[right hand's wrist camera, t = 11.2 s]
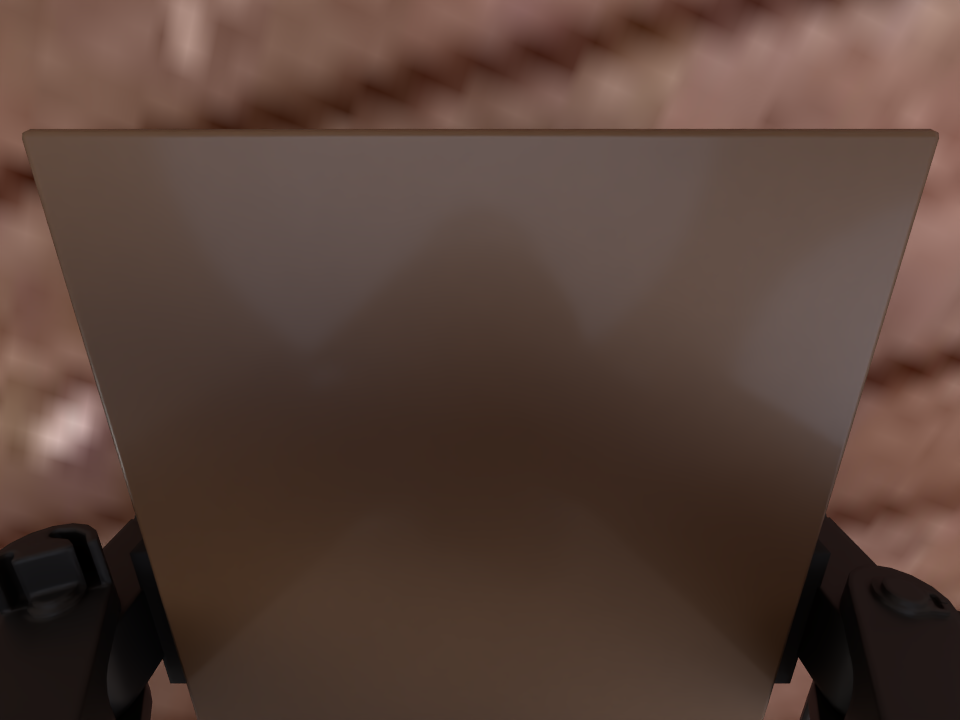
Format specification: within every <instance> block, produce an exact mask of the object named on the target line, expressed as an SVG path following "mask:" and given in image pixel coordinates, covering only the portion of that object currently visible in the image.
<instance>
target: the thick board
mask: <svg viewBox="0 0 960 720" xmlns="http://www.w3.org/2000/svg"><path fill="white" fill-rule="evenodd" d="M938 139H939V133H938V132H936V131H934V130H931V129H30V130H28V131H26V132H23V133H22V140H23V143H24V146H25V150H26V153H27V156H28V160H29V163H30V166H31V170H32V173H33V176H34V180H35V183H36V186H37V190H38V193H39V196H40V199H41V203H42V206H43V209H44V213H45V216H46V219H47V223H48V226H49V229H50V233H51V236H52V239H53V242H54V246H55V249H56V252H57V256H58V259H59V262H60V266H61V269H62V272H63V276H64V279H65V282H66V286H67V289H68V292H69V295H70V299H71V302H72V305H73V309H74V312H75V315H76V319H77V322H78V325H79V329H80V332H81V335H82V339H83V342H84V345H85V348H86V352H87V355H88V358H89V362H90V365H91V368H92V372H93V375H94V378H95V382H96V385H97V388H98V392H99V395H100V398H101V401H102V405H103V408H104V411H105V415H106V418H107V421H108V425H109V428H110V431H111V435H112V438H113V441H114V445H115V448H116V451H117V454H118V458H119V461H120V464H121V468H122V471H123V474H124V478H125V481H126V484H127V488H128V491H129V494H130V497H131V501H132V504H133V507H134V511H135V514H136V517H137V521H138V524H139V527H140V531H141V534H142V537H143V541H144V544H145V547H146V550H147V554H148V557H149V560H150V564H151V567H152V570H153V574H154V577H155V580H156V584H157V587H158V590H159V594H160V597H161V600H162V603H163V607H164V610H165V613H166V617H167V620H168V623H169V627H170V630H171V633H172V637H173V640H174V643H175V647H176V650H177V653H178V656H179V660H180V663H181V666H182V670H183V673H184V676H185V680H186V683H187V686H188V690H189V693H190V696H191V700H192V703H193V706H194V709H195V713H196V716H197V719H198V720H763V719H764V715H765V712H766V709H767V705H768V702H769V699H770V695H771V692H772V689H773V685H774V682H775V679H776V675H777V672H778V669H779V666H780V662H781V659H782V656H783V652H784V649H785V646H786V642H787V639H788V636H789V632H790V629H791V626H792V623H793V619H794V616H795V613H796V609H797V606H798V603H799V599H800V596H801V593H802V589H803V586H804V583H805V580H806V576H807V573H808V570H809V566H810V563H811V560H812V556H813V553H814V550H815V546H816V543H817V540H818V537H819V533H820V530H821V527H822V523H823V520H824V517H825V513H826V510H827V507H828V503H829V500H830V497H831V493H832V490H833V487H834V484H835V480H836V477H837V474H838V470H839V467H840V464H841V460H842V457H843V454H844V450H845V447H846V444H847V441H848V437H849V434H850V431H851V427H852V424H853V421H854V417H855V414H856V411H857V407H858V404H859V401H860V398H861V394H862V391H863V388H864V384H865V381H866V378H867V374H868V371H869V368H870V364H871V361H872V358H873V354H874V351H875V348H876V345H877V341H878V338H879V335H880V331H881V328H882V325H883V321H884V318H885V315H886V311H887V308H888V305H889V302H890V298H891V295H892V292H893V288H894V285H895V282H896V278H897V275H898V272H899V268H900V265H901V262H902V259H903V255H904V252H905V249H906V245H907V242H908V239H909V235H910V232H911V229H912V225H913V222H914V219H915V215H916V212H917V209H918V206H919V202H920V199H921V196H922V192H923V189H924V186H925V182H926V179H927V176H928V172H929V169H930V166H931V163H932V159H933V156H934V153H935V149H936V146H937V143H938Z"/></svg>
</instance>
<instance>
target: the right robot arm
mask: <svg viewBox="0 0 960 720" xmlns="http://www.w3.org/2000/svg"><path fill="white" fill-rule="evenodd" d="M798 657H799V659H800V660H801V662H802V663H803V665H804V666H805V668H806V669H807V671H808V673H809V674H810V676H811V677H812V679H813V682H812V685H811V688H810V691H809V694H808V696H807V699H806V702H805V705H804V708H803V711H802V714H801V717H800V720H960V611H957V610H956V609H955V608H954V606H953V605H952V604H951V602H950V601H949V600H948V599H947V598H946V597H944V596H943V595H942V594H941V593H939V592H938V591H937V590H936V589H934V588H933V587H932V586H930V585H928V584H927V583H925V582H923V581H921V580H919V579H917V578H916V577H914V576H912V575H909V574H907V573H904V572H901V571H898V570H895V569H893V568H888V567H882V566H877V565H876V564H875V563H874V562H873V561H872V560H871V559H870V558H869V557H868V556H867V555H866V554H865V553H864V552H863V551H862V550H861V549H860V548H859V547H858V546H857V545H856V544H855V543H854V542H853V541H852V540H851V539H850V538H849V537H848V536H847V535H846V534H845V533H844V532H843V531H842V530H841V528H840V527H839V526H838V525H837V524H836V523H835V522H834V521H833V520H832V519H831V518H827V517H826V513H825V517H824V520H823V523H822V527H821V530H820V533H819V537H818V540H817V543H816V546H815V550H814V553H813V556H812V560H811V563H810V566H809V570H808V573H807V576H806V580H805V583H804V586H803V589H802V593H801V596H800V599H799V603H798V606H797V609H796V613H795V616H794V619H793V623H792V626H791V629H790V632H789V636H788V639H787V642H786V646H785V649H784V652H783V656H782V659H781V662H780V666H779V669H778V672H777V675H776V679H775V682H774V683H790V682H791V679H792V675H793V672H794V669H795V666H796V663H797V660H798ZM162 659H163V661H164V664H165V668H166V671H167V674H168V677H169V680H170V683H186V680H185V676H184V673H183V670H182V666H181V663H180V660H179V656H178V653H177V650H176V647H175V643H174V640H173V637H172V633H171V630H170V627H169V623H168V620H167V617H166V613H165V610H164V607H163V603H162V600H161V597H160V594H159V590H158V587H157V584H156V580H155V577H154V574H153V570H152V567H151V564H150V560H149V557H148V554H147V550H146V547H145V544H144V541H143V537H142V534H141V531H140V527H139V524H138V521H137V517H136V515H135V519H131V520H130V521H129V522H128V523H127V524H126V525H125V526H124V527H123V528H122V529H121V530H120V531H119V532H118V533H117V534H116V535H115V536H114V538H113V539H112V540H111V541H110V542H109V543H108V544H107V545H106V546H105V547H104V548H103V549H102V546H101V543H100V540H99V537H98V534H97V531H96V530H95V529H93V528H92V527H90V526H89V525H85V524H75V523H71V524H64V525H58V526H52V527H49V528H46V529H43V530H40V531H36V532H33V533H31V534H28V535H26V536H24V537H22V538H20V539H18V540H16V541H14V542H12V543H10V544H8V545H7V546H6V547H4V548H3V549H1V550H0V720H150V718H151V709H152V697H151V691H150V688H149V685H148V681H149V679H150V678H151V676H152V674H153V673H154V671H155V670H156V668H157V667H158V665H159V664H160V662H161V660H162Z"/></svg>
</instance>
